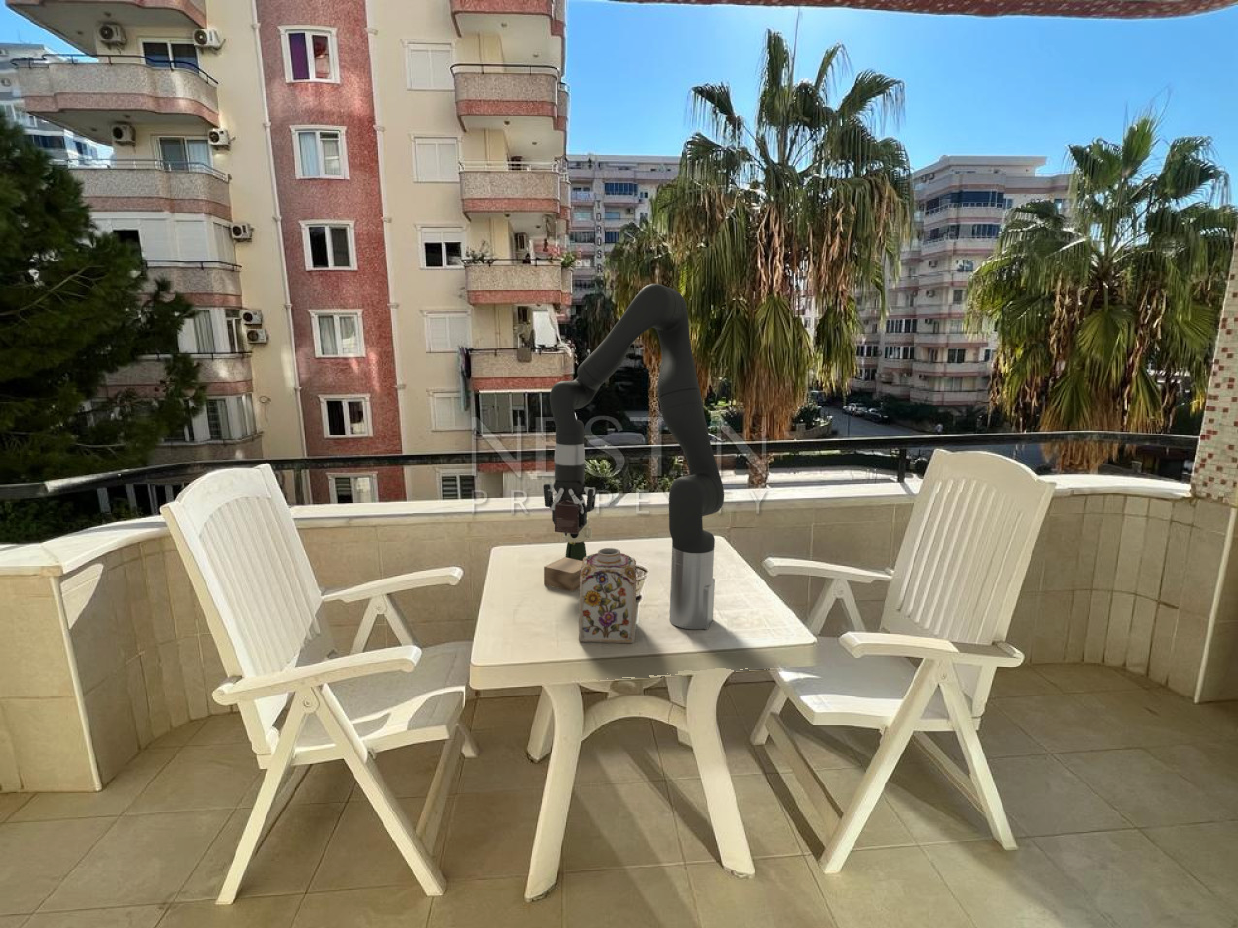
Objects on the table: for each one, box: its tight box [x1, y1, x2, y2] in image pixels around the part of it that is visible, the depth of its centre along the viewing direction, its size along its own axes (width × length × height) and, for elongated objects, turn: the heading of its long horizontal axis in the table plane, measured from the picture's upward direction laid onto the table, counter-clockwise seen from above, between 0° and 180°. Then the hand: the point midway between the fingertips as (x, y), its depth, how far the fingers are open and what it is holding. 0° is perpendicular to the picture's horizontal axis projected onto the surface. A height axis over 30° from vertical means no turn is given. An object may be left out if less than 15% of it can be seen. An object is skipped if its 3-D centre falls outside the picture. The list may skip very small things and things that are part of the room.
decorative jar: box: [578, 547, 637, 644], centre depth 126 cm, size 12×12×18 cm
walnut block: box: [543, 556, 582, 592], centre depth 154 cm, size 9×9×5 cm
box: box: [554, 500, 582, 534], centre depth 151 cm, size 6×6×7 cm
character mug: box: [562, 516, 593, 561], centre depth 169 cm, size 11×7×13 cm, turn 55°
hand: (569, 525), depth 152 cm, fingers closed on box, 6 cm apart
